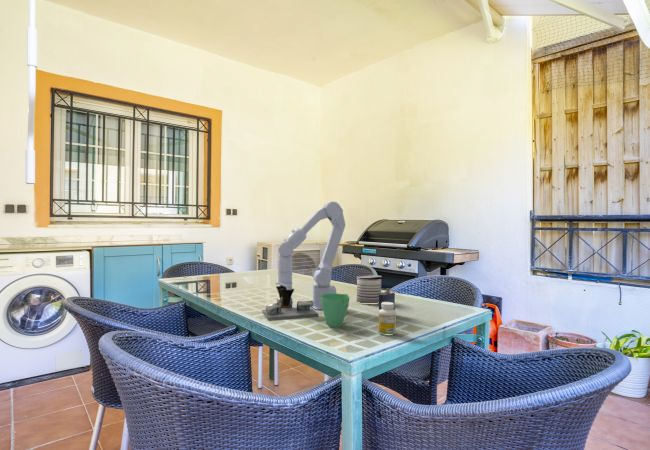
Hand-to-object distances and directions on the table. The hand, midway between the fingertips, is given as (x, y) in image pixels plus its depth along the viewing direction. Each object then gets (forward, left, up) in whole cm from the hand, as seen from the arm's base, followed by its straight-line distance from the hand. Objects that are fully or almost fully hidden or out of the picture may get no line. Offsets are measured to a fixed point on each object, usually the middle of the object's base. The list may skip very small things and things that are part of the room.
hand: (284, 304), depth 147 cm
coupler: (0, 0, -1) cm, 1 cm away
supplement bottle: (-23, +43, -2) cm, 49 cm away
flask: (-34, +24, -2) cm, 42 cm away
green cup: (-12, +28, -2) cm, 31 cm away
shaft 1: (+7, +11, -1) cm, 13 cm away
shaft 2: (-6, +9, -1) cm, 11 cm away
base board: (0, +11, -1) cm, 11 cm away
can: (-39, -1, -2) cm, 39 cm away
